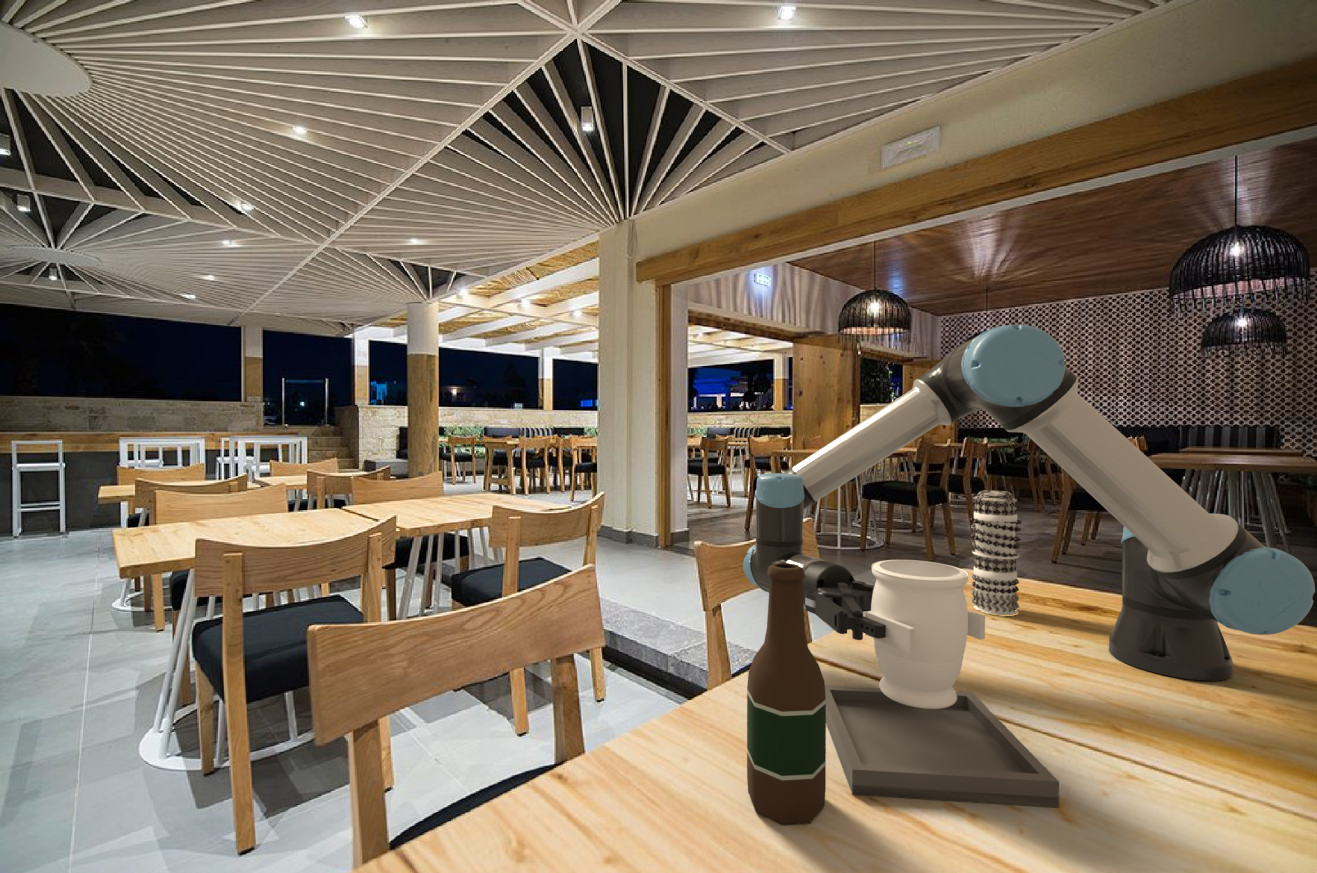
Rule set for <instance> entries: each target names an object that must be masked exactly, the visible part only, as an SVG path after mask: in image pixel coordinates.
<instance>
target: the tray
mask: <svg viewBox="0 0 1317 873" xmlns="http://www.w3.org/2000/svg"><path fill="white" fill-rule="evenodd" d="M955 692H956V695H957V700H956V702H955V703H954V704H953V705H951V706H949V707H946V708H940V709H924V708H917V707H912V706H908V705H905V704H901V703H899V702H896V701H894V700H892V699H890V698H889V697H887V696H886V695H885V694H883V692H882V691H881V690H880V687H861V686H860V687H859V686H841V685H840V686H839V685H825V695H826V728H827V731H828V732H829V736H830V738H831V740H832V743H833V746H834V749H835V751H836V754H837V757H838V759H839V762H840V765H841V768H842V771H843V773H844V776H845V779H846V781H847V784H848V787H849V789H850V790H849V791H850V792H851V795H853V796H871V797H886V798H898V799H899V798H900V799H901V798H903V799H917V800H932V801H949V802H963V803H964V802H966V803H981V804H994V805H995V804H996V805H997V804H998V805H1012V806H1013V805H1014V806H1026V807H1029V806H1030V807H1042V808H1043V807H1044V808H1060V781H1059V780H1058V779H1057V778H1056V777H1055V776H1054V775H1053V774H1052V773H1051V772H1050V771H1049V769H1048V768H1046V767H1045V766H1044V764H1042V763H1041V761H1040V760H1039V759H1038V758H1037V757H1036V756H1035V755H1034V754H1033V753H1032V752H1031V750H1029V749H1028V748H1027V747H1026V746H1025V745H1024V744H1023V743H1022V742H1021V741H1020V740H1019V738H1017V737H1016V736H1015V735H1014V734H1013V732H1011V730H1009V729H1008V728H1007V727H1006V725H1004V723H1003V722H1002V721H1000V719H999V718H998V717H997V716H996V715H995V714H993V712H992V711H991V710H990V709H989V708H988V707H987V706H986V705H985V704H984V703H983V702H982V701H981V700H980V699H979V698H978V697H977V696H976V695H975V694H974V693H973V692H972V691H955Z"/></svg>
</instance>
